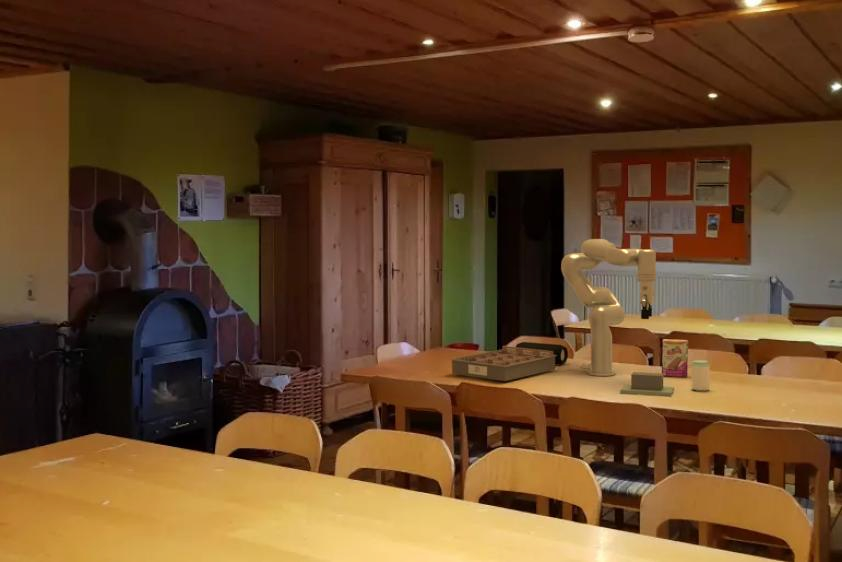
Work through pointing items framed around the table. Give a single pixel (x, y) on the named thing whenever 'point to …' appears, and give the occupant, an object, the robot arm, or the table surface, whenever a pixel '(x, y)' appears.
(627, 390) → the pin board
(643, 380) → the plug housing
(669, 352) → the candy bar box
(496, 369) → the organizer tray
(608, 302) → the robot arm
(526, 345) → the portable speaker
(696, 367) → the can
